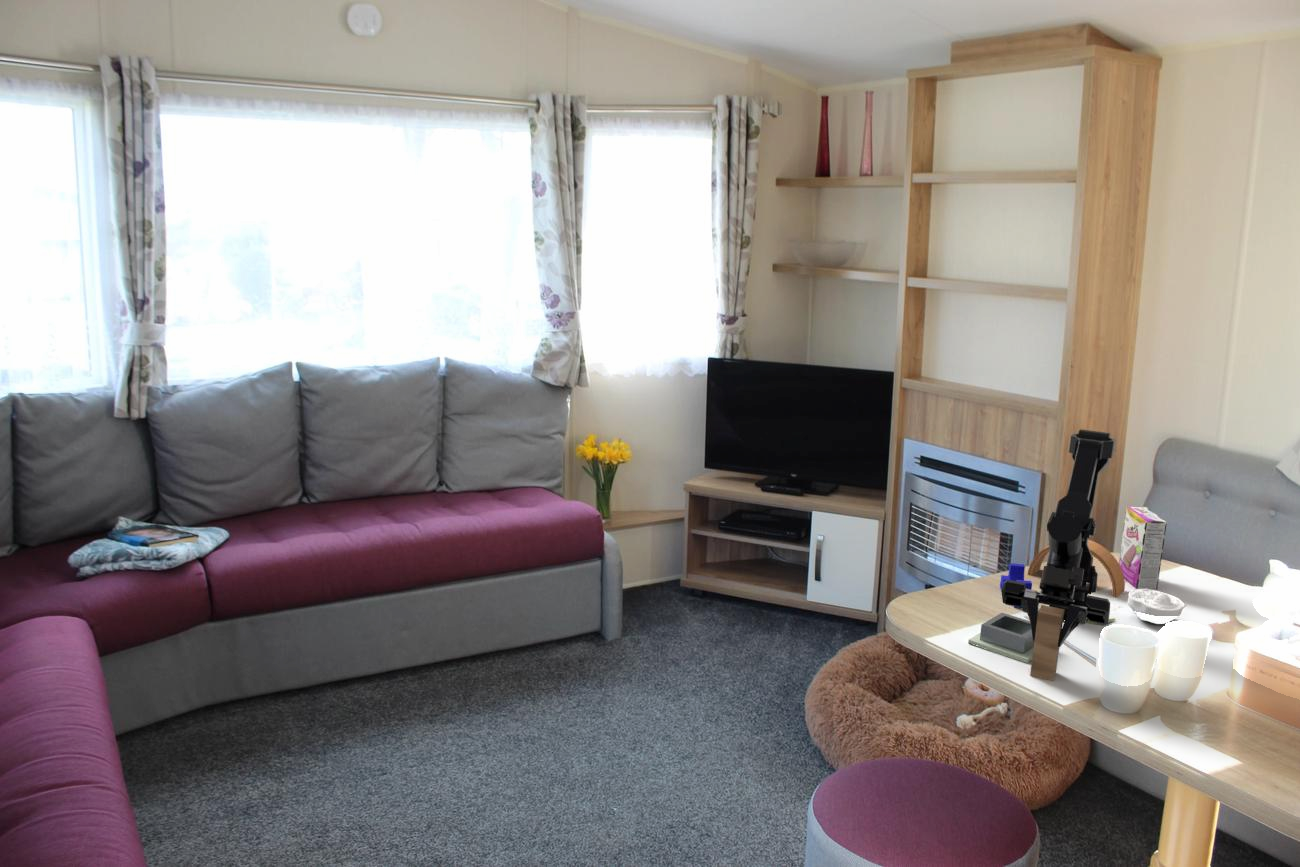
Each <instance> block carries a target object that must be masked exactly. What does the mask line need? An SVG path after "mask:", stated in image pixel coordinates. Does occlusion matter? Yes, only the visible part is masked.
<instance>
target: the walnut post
mask: <svg viewBox="0 0 1300 867" xmlns="http://www.w3.org/2000/svg"><path fill="white" fill-rule="evenodd" d="M1064 610H1065V609H1061V608H1056V607H1051V606H1049V605H1046V604H1041V605H1040V607H1039V608H1038V617H1037V625H1036V633H1035V641H1034V648H1033V656H1032V660H1031V663H1030V664H1031V666H1030V672H1029V676H1031V677H1035V678H1040V679H1044V680H1046V681H1047V680H1049V681H1051V682H1053V681H1054V680H1055V676H1056V674H1057V669H1058V661H1059V660H1058V659H1059V655H1060V654H1059V652H1060V647H1058V641H1059V636H1060V633H1061V630H1062V627H1063V625H1064V621H1063V617H1064Z"/></svg>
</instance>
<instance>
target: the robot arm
mask: <svg viewBox="0 0 1300 867" xmlns="http://www.w3.org/2000/svg"><path fill="white" fill-rule="evenodd" d="M1116 442H1117V439H1116V438H1111V432H1105V431H1099V430H1098V431H1097V430H1088V429H1081V428H1080V429H1079V430H1078V433H1072V434H1070V441H1069V447H1068V453H1070V454H1072V455H1071V456H1072V460H1073V464H1072V470H1071V475H1070V478H1069V483H1068V486H1067V491H1066V495H1065V496H1063V497H1062V498H1060V499H1059V500H1058V501H1057V505H1056V508H1055V511H1052V512H1051V514H1050V516H1049V519H1048V521H1047V523H1046V524H1047V525H1046V532H1047V533H1048V534H1047V535H1048V538H1047V539H1048V546H1049V548H1050V551H1049V552H1048V556H1047V557H1048V558H1047V561H1046V565H1044V566H1043V569H1042V574H1041V577H1040V582H1039V590H1040V592H1039V591H1037V590H1034V589H1031V590H1029V589H1026V583H1023V582H1018V581H1013V580H1006V581H1005V582H1004V583H1003V586H1002V590H1001V589H1000V592H1001V600H1002V603H1003V604H1004V605H1005V606H1011V607H1014V606H1015V607H1021V606H1022V609H1021V611H1022V613H1023V612H1024V613H1027V615H1028V619H1029V620H1028V621H1030V623H1031V630H1032V638H1033V642H1034V641H1035V633H1036V625H1037V617H1038V611H1039V604H1041V605H1046V606H1051V607H1056V608H1061V609H1065V610H1064V617H1063V620H1065V621H1063V625H1062V630H1061V633H1060V636H1059V641H1058V647H1059V648H1060V647H1062V645H1063V643H1065V641H1066V640H1067V639H1068V637H1069V636H1070V635H1071V633H1072V632H1074V630H1075V629H1076V628H1077V627H1078V626H1079V625H1085V624H1086V622H1087V621H1089V622H1090V623H1094V624H1099V625H1104V626H1105V625H1108V624H1109V618H1110V615H1111V614H1110V613H1111V602H1110V600H1109V599H1108V598H1104V597H1100V596H1094V595H1092V594H1093V593H1096V592H1097V586H1098V576H1099V575H1098V572H1097V570H1096V565H1093V564H1094V563H1093V562H1094V556H1093V555H1092V554H1091V551H1090V549H1089V547H1088V540H1089V539H1090V538H1091V537H1093V536H1094V535H1095V534H1096V531H1097V527H1098V526H1097V524H1096V520H1095V518H1093V513H1094V508H1095V507H1094V506H1095V500H1096V495H1097V488H1098V483H1099V476H1100V474H1101V473H1102V472H1103V471H1105V469H1106V468H1107V466H1108V465H1109V464H1110V461H1111V460H1110V459H1112V458H1113V457H1114V455H1115V450H1116ZM1086 618H1087V619H1088V620H1086Z"/></svg>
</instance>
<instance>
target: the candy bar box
mask: <svg viewBox="0 0 1300 867" xmlns="http://www.w3.org/2000/svg"><path fill="white" fill-rule="evenodd" d="M1125 508H1126V509H1125V517H1124V523H1123V529H1122V530H1123V531H1122V537H1121V538H1122V539H1121V545H1120V551H1119V552H1120V553H1119V561H1118V563H1119V565H1120V567H1121V569H1122V572H1123V575H1124V580H1125V581H1127V582H1128V583H1129V584H1130V585H1131V586H1132V587H1133V588H1134V589H1151V590H1156V591H1158V584H1159V580H1160V573H1161V566H1162V559H1163V552H1164V544H1165V538H1166V530H1167V524H1168V522H1167V521H1166V520H1164V519H1163V518H1162V517H1160V516H1159V515H1158V514H1157V513H1155V512H1154V511H1152V510H1151V509H1150V508H1148V507H1146V506H1131V505H1130V506H1129V505H1128V506H1126V507H1125Z"/></svg>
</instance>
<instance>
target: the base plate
mask: <svg viewBox="0 0 1300 867" xmlns="http://www.w3.org/2000/svg"><path fill="white" fill-rule="evenodd" d="M980 633H981V632H979V633H977V634H976V635H974V636H972V637H971V638H969V639H968V642H967V643H971V644H974V645H978V646H980V647H983V648H986V649H988V650H987V651H989V650H991V651H990V652H992V651H994V652H993V653H995V652H997V653H996V654H998V655H1002V656H1004V657H1008V658H1011V659H1013V660H1016V661H1020V662H1022V663H1025V664H1028V663H1029V662H1032V656H1033V648H1034V647H1033V648H1032V649H1030V650H1029V651H1027V652H1026V653H1024V654H1021V653H1018V652H1015V651H1012V650H1009V649H1006V648H1003V647H1000V646H997V645H994V644H991V643H988V642H985V641H982V640H980ZM971 644H970V645H971ZM974 645H973V646H974ZM980 647H979V648H980ZM983 648H982V649H983ZM986 649H985V650H986Z"/></svg>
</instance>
